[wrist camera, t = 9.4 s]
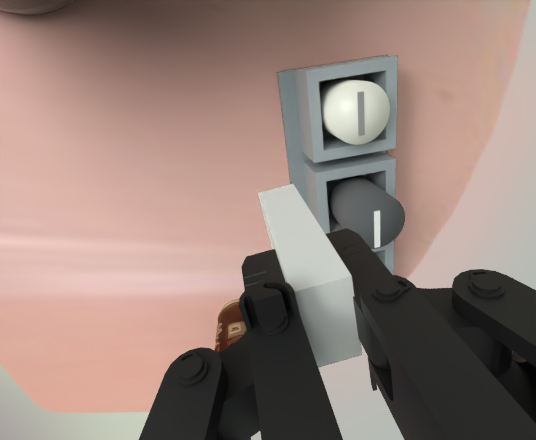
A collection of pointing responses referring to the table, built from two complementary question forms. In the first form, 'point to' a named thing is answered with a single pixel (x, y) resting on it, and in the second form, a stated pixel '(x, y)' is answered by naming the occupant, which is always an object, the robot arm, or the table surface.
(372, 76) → the mount
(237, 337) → the coffee cup
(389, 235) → the black dial
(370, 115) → the knob
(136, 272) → the table surface
